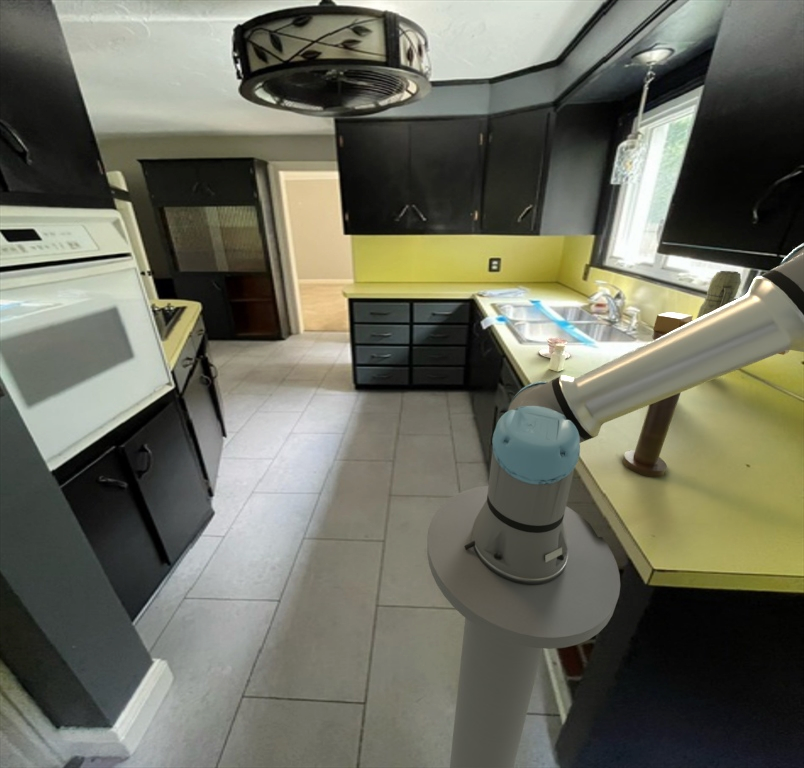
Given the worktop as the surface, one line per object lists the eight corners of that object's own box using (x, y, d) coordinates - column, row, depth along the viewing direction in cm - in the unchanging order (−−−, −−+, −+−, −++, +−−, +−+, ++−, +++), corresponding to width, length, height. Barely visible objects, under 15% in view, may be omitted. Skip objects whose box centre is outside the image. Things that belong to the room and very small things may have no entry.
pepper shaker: (553, 366, 137) (558, 342, 133) (563, 369, 134) (568, 345, 130) (548, 369, 134) (552, 344, 131) (557, 372, 132) (562, 347, 128)
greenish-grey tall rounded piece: (702, 366, 137) (736, 270, 123) (716, 377, 127) (754, 274, 113) (675, 363, 140) (705, 269, 126) (686, 374, 130) (720, 273, 116)
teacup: (576, 358, 146) (579, 343, 143) (550, 360, 143) (553, 345, 141) (557, 349, 156) (559, 335, 154) (533, 351, 154) (535, 337, 151)
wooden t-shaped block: (780, 356, 56) (789, 337, 55) (652, 330, 70) (657, 314, 69) (791, 351, 58) (799, 332, 57) (665, 326, 73) (669, 311, 72)
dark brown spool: (634, 480, 75) (677, 341, 63) (608, 452, 85) (642, 326, 73) (681, 480, 75) (734, 341, 63) (651, 452, 85) (692, 326, 73)
